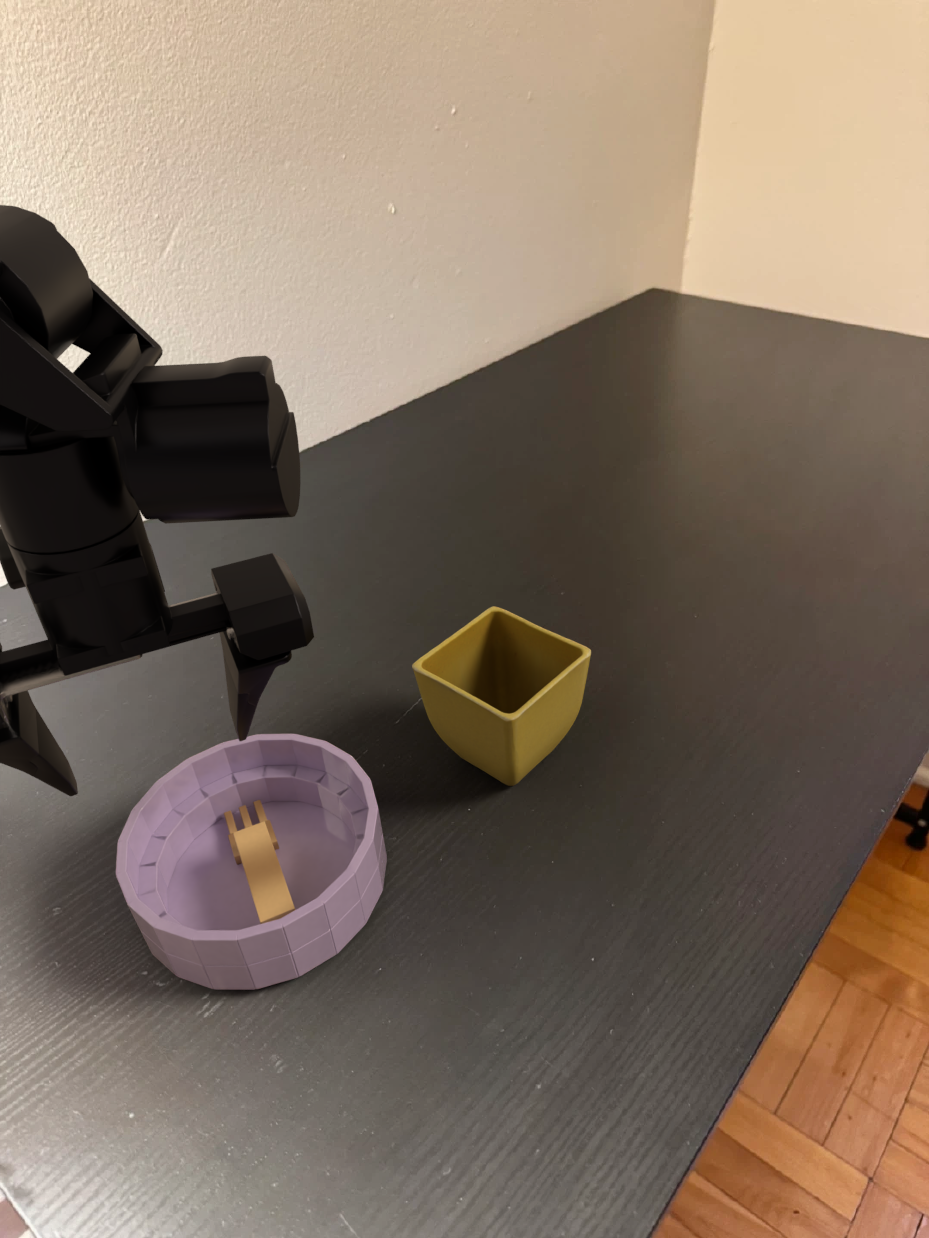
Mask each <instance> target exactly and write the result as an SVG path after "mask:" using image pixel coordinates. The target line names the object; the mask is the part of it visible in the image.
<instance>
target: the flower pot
mask: <svg viewBox="0 0 929 1238" xmlns="http://www.w3.org/2000/svg"><path fill="white" fill-rule="evenodd" d="M591 655H592V650H591V649H590V648H589V647H587V646H586V645H583V644H581V643H579V642H576V641H574V640H572V639H570V638H568V637H567V638H566V637H565V636H563V635H560V634H558V633H556V632H553V631H550V630H549V629H546V628H543V627H541V626H540V625H538V624H535V623H533V622H531V621H530V620H527V619H526V618H524V617H521V616H519V615H517V614H515V613H513V612H511V611H509V610H506V609H504V608H502V607H498V606H493V605H492V606H490V607H488V608H487V609H486V610H484V611H483V612H482V613H480V614H479V615H477V616H476V617H475V618H473V619H472V620H471V621H470V622H467V623H466V625H464V626H463V627H462V628H460V629H458V630H457V631H456V632H454V633H453V634H452V635H450V636H449V637H447V638H446V639H445V640H443V641H442V642H441V643H439V644H438V645H436V646H435V647H434V648H433V647H432V649H430V650H429V651H428V652H426V653H425V654H424V655H422V656H421V657H420V658H418V659H417V660H416V661H415V662H413V663H412V664H411V667H412V671H413V673H414V678H415V680H416V683H417V687H418V690H419V694H420V697H421V700H422V703H423V706H424V709H425V712H426V715H427V718H428V720H429V722H430V724H431V726H432V728H433V729H434V731H435V732H436V734H437V735H438V737H439V738H440V739H441V740H442V741H443V742H444V743H445V745H446V746H448V747H449V749H451V750H452V751H453V752H454V753H455V754H456V755H457V756H459V758H461V759H463V760H464V761H466V762H468V763H469V764H470V765H473V766H474V767H475V768H478V769H480V770H481V771H482V772H485V773H486V774H488V775H489V776H491V777H492V778H494V779H496V780H497V781H499V782H500V783H502V784H503V785H506V786H508V787H513V786H515V785H517V784H519V783H520V782H521V780H523V779H524V778H525V777H526V776H527V775H528V774H529V773H530V772H532V770H533V769H535V768H536V766H538V765H539V764H540V763H541V762H542V761H543V760H544V759H545V758H546V757H547V756H549V755H550V754H551V753H552V752H553V751H554V750H555V748H556V747H558V745H559V744H560V743H561V741H562V740H563V739H564V738H565V736H566V735H567V734H568V733H569V731H570V730H571V728H572V727H573V725H574V723H575V721H576V719H577V717H578V715H579V713H580V710H581V707H582V704H583V699H584V693H585V689H586V683H587V678H588V673H589V667H590V662H591V661H590V660H591Z"/></svg>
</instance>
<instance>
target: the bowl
mask: <svg viewBox="0 0 929 1238" xmlns="http://www.w3.org/2000/svg"><path fill="white" fill-rule="evenodd" d="M258 800H261V803H262V806H263V809H264V812H265V815H266V817H267V820H270V822H271V825H272V827H273V830H274V833H275V836H276V839H277V842H278V845H279V849H277V850H275V852H276V855H277V858H278V861H279V864H280V867H281V870H282V872H283V875H284V878H285V881H286V884H287V887H288V890H289V893H290V895H291V898H292V901H293V904H294V907H295V911H293V912H291V913H289V914H288V915H286V916H284V917H282V918H280V919H277V920H274V921H270V922H266V923H263V924H261V923H260V920H259V917H258V914H257V910H256V907H255V904H254V901H253V897H252V894H251V891H250V887H249V884H248V881H247V878H246V874H245V871H244V868H243V864H242V863H241V864H238V865H237V864H236V861H235V858H234V855H233V852H232V848H231V845H230V842H229V838H228V835H229V834H230V833H229V830H228V826H227V823H226V820H225V816H224V813H225V812H227V811H231V812H232V815H233V818H234V821H235V825H236V828H237V831H239V830H242V829H245V827H244V824H243V821H242V818H241V814H240V811H239V807H241V806H244V805H246V808H247V811H248V814H249V817H250V820H251V823H252V826H253V825H255V824H258V823H260V822H259V819H258V816H257V813H256V810H255V807H254V804H253V802H255V801H258ZM382 827H383V826H382V822H381V816H380V810H379V805H378V801H377V797H376V794H375V791H374V785H373V782H372V780H371V778H370V777H369V775H368V774H367V773H366V772H365V770H364V769H363V768H362V767H361V765H360V764H359V763H358V761H357V760H356V759H355V757H353V756H352V755H351V754H349V753H347V752H346V751H344V750H343V749H341V748H339V747H337V746H335V745H334V744H332V743H330V742H328V741H326V740H324V739H320V738H315V737H310V736H306V735H302V734H298V733H257V734H252V735H247V738H246V740H243V741H239V739H238V738H235V739H230V740H226V741H223V742H220V743H218V744H216V745H214V746H211V747H210V748H207V749H205V750H203V751H200V752H198V753H196V754H194V755H192V756H190V757H187V758H186V759H184V760H183V761H181V762H180V763H179V764H177V765H176V766H175V767H173V768H172V769H171V770H169V771H168V772H167V773H165V774H164V775H163V776H161V777H160V778H159V779H157V780H156V781H155V782H154V783H153V784H152V785H151V786H150V787H149V789H148V790H147V792H145V794H144V795H143V796H142V797H141V798H140V800H138V802H137V803H136V804H135V805H134V807H133V808H132V809H131V811H130V813H129V815H128V817H127V819H126V821H125V824H124V826H123V827H122V831H121V833H120V835H119V837H118V840H117V844H116V858H115V861H116V862H115V878H116V880H117V882H118V883H117V884H118V885H119V887H120V890H121V892H122V895H123V897H124V900H125V902H126V905H127V907H128V909H129V911H130V914H131V915H132V917H133V919H134V921H135V923H136V925H137V928H138V929H139V930H140V933H141V935H142V937H143V939H144V941H145V943H146V945H147V947H148V949H149V951H150V953H151V955H152V956H154V958H156V959H157V960H158V961H159V962H160V963H161V964H162V965H163V966H165V968H167V969H168V970H169V971H170V972H171V973H172V974H173V975H175V977H177V978H180V979H183V980H186V981H189V982H191V983H194V984H197V985H200V986H202V987H205V988H208V989H211V990H221V991H222V990H224V991H225V990H232V991H233V990H234V991H237V990H241V991H242V990H243V991H245V990H247V991H248V990H249V991H250V990H251V991H252V990H259V989H263V988H267V987H269V986H275V985H276V984H280V983H284V982H287V981H291V980H294V979H297V978H300V977H302V976H304V975H305V974H307V973H309V972H310V971H311V970H314V969H315V968H317V967H319V966H320V965H322V964H323V963H326V961H328V960H330V959H331V958H333V957H335V956H336V955H338V954H339V953H340V952H341V951H342V950H343V949H344V948H345V947H346V945H348V943H349V942H351V941H352V939H353V938H354V937H355V936H356V935H357V934H358V933H359V932H360V931H361V930H362V929H363V928H364V927H365V926H366V924H367V922H368V921H369V919H370V917H371V915H372V913H373V911H374V909H375V907H376V905H377V904H378V901H379V899H380V898H381V895H382V893H383V891H384V885H385V878H386V870H387V864H388V863H387V861H388V856H387V851H386V850H387V849H386V845H385V838H384V833H383V828H382Z"/></svg>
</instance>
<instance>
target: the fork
mask: <svg viewBox="0 0 929 1238" xmlns="http://www.w3.org/2000/svg"><path fill="white" fill-rule="evenodd" d="M253 804H254V807H255V810H256V813H257V816H258V819H259V822H260V823H258V824H255V825H253V826H252V823H251V820H250V817H249V814H248V811H247V808H246V805H244V806H241V807H239V811H240V814H241V818H242V821H243V824H244V827H245V829H242V830H239V831H237V828H236V825H235V821H234V818H233V815H232V812H231V811H227V812H225V813H224V816H225V820H226V823H227V826H228V830H229V833H230V834H229V835H228V838H229V842H230V845H231V848H232V852H233V855H234V858H235V861H236V864H237V865H238V864H241V863H242V864H243V868H244V871H245V874H246V878H247V881H248V884H249V887H250V891H251V894H252V897H253V901H254V904H255V907H256V910H257V914H258V917H259V920H260V923H261V924H263V923H266V922H270V921H274V920H277V919H280V918H282V917H284V916H286V915H288V914H289V913H291V912H293V911H295V907H294V904H293V901H292V898H291V895H290V893H289V890H288V887H287V884H286V881H285V878H284V875H283V872H282V870H281V867H280V864H279V861H278V858H277V855H276V852H275V850H277V849H279V845H278V842H277V839H276V836H275V833H274V830H273V827H272V825H271V822H270V820H267V817H266V815H265V812H264V809H263V806H262V803H261V800H258V801H255V802H253Z"/></svg>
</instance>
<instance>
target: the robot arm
mask: <svg viewBox="0 0 929 1238" xmlns="http://www.w3.org/2000/svg"><path fill="white" fill-rule="evenodd" d="M72 345H73V346H75V347H77V348H79V349H81V350H83V351H85V352H87V353H88V356H86V357H85V359H84V360H83V361H82V362H81V363H80V364H79V365H78V366H77V367H76V369H75V370H74V371H73V372H72V370H70V369H69V368H68V367H66V365H64V364H63V363H62V362H61V361H60V360H59V358H60V357H61V355H62V354H64V353H65V352H66V351H67V350H68V349H69V348H70V346H72ZM163 351H164V350H163V348H162V346H161V344H159V343H158V342H157V341H156V340H155V339H154V338H153V337H152V336H151V335H150V334H149V333H148V332H147V331H146V330H144V329H143V327H141V326H140V325H139V324H138V323H137V322H136V321H135V320H134V319H133V318H132V317H131V316H130V315H129V314H127V312H125V310H123V308H121V307H120V306H119V305H118V304H117V303H116V302H115V301H114V300H113V299H112V298H111V297H110V296H109V295H108V294H107V293H106V292H105V291H103V290H102V289H101V288H100V287H99V285H98V284H96V282H94V280H92V279H91V278H90V275H89V271H88V269H87V268H86V266H85V264H84V263H83V261H82V259H81V257H80V256H79V254H78V251H77V250H76V248H75V247H73V245H71V243H70V242H69V241H68V240H67V239H66V238H65V237H64V236H63V235H62V234H61V232H59V230H58V229H57V227H56V225H55V224H54V223H53V222H52V221H51V220H49V219H47V218H46V217H44V216H42V215H40V214H38V213H36V212H34V211H31V210H28V209H25V208H23V207H18V206H15V205H5V204H0V566H1V569H2V572H3V574H4V577H5V579H6V583H7V584H8V586H9V588H10V589H11V590H17V589H22V588H25V589H26V592H27V593H28V595H29V598H30V600H31V603H32V606H33V608H34V610H35V613H36V614H37V615H36V616H37V618H38V620H39V621H40V624H41V627H42V630H43V632H44V634H45V636H46V639H45V640H41V641H37V642H33V643H30V644H26V645H22V646H19V647H15V648H10V649H7V650H4V651H3V645H2V643H1V642H0V764H2V765H4V766H7V767H10V768H12V769H15V770H18V771H20V772H23V773H25V774H27V775H29V776H31V777H32V778H35V779H37V780H39V781H41V782H42V783H44V784H46V785H48V786H50V787H51V788H53V789H55V790H57V791H59V792H61V793H63V794H65V795H67V796H68V797H73V796H77V795H78V794H79V790H78V782H77V779H76V777H75V773H74V772H73V769H72V767H71V764H70V761H69V760H68V758H67V756H66V755H65V753H64V751H63V749H62V748H61V746H60V744H58V742H57V740H56V738H55V737H54V735H53V733H52V732H51V730H50V728H49V727H48V725H47V724H46V722H45V720H44V719H43V716H42V715H41V714H40V712H39V710H38V709H37V707H36V706H35V704H34V702H33V700H32V697H31V695H30V692H29V691H30V690H34V689H38V688H41V687H45V686H49V685H52V684H55V683H59V682H62V681H66V680H70V679H74V678H76V677H77V678H78V677H81V676H84V675H87V674H90V673H94V672H98V671H101V670H105V669H108V668H113V667H116V666H120V665H123V664H127V663H129V662H130V663H131V662H133V661H137V660H139V659H141V658H143V655H144V654H149V653H152V652H155V651H159V650H162V649H166V648H170V647H174V646H177V645H180V644H184V643H187V642H191V641H194V640H198V639H201V638H205V637H209V636H212V635H217V634H219V638H220V642H221V646H222V655H223V664H224V672H225V673H224V674H225V681H226V691H227V698H228V708H229V712H230V715H231V720H232V722H233V726H234V730H235V733H236V736H237V739H239V741H243V740H246V738H247V737H248V736H249V733H250V728H251V726H252V722H253V720H254V716H255V714H256V711H257V708H258V705H259V702H260V699H261V697H262V695H263V693H264V691H265V688H266V687H267V685H268V683H269V681H270V680H271V677H272V675H273V674H274V671H275V670H276V669H277V667H280V666H283V665H286V664H288V663H289V662H290V661H291V660H292V657H293V654H292V651H295V650H299V649H302V648H305V647H308V646H309V645H310V644H311V642H312V641H313V639H314V638H315V634H314V627H313V623H312V617H311V612H310V609H309V605H308V602H307V600H306V597H305V594H304V593H303V591H302V589H301V588H300V585H299V584H298V581H297V580H296V578H295V577H294V575H293V573H292V571H291V569H290V567H289V565H288V563H287V561H286V560H284V559H283V558H281V557H280V556H278V555H277V554H275V553H273V552H270V553H267V554H263V555H259V556H255V557H252V558H247V559H244V560H239V561H235V562H232V563H228V564H224V565H220V566H215V567H212V568H210V573H211V574H210V575H211V579H212V582H213V586H214V589H215V592H214V593H210V594H206V595H202V596H199V597H196V598H192V599H187V600H184V601H180V602H177V603H172V604H169V603H168V599H167V596H166V593H165V592H166V590H165V586H164V583H163V580H162V577H161V573H160V570H159V566H158V564H157V563H158V562H157V560H156V557H155V553H154V549H153V547H152V544H151V543H150V539H149V537H148V533H147V531H146V527H145V524H144V521H143V518H144V519H145V520H146V521H148V520H158V521H159V522H161V523H163V524H182V523H183V524H184V523H203V522H205V523H207V522H223V521H225V522H226V521H243V520H244V521H245V520H265V519H279V518H280V519H282V518H293V517H296V515H297V513H298V510H299V505H300V498H301V459H300V457H301V456H300V455H301V454H300V445H299V437H298V430H297V423H296V417H295V412H294V411H290V410H289V406H288V401H287V398H286V396H285V393H284V391H283V388H282V387H281V385H280V384H279V383H278V382H277V381H276V378H275V371H274V366H273V365H274V364H273V361H272V359H271V358H270V357H269V356H268V355H250V356H238V357H234V358H231V359H228V360H225V361H219V362H205V363H203V362H202V363H184V364H183V363H182V364H181V363H180V364H164V365H163V364H162V365H161V364H160V365H156V364H157V363H158V361H160V359H161V358H162V356H163V355H164V354H163ZM142 516H143V517H142Z"/></svg>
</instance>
